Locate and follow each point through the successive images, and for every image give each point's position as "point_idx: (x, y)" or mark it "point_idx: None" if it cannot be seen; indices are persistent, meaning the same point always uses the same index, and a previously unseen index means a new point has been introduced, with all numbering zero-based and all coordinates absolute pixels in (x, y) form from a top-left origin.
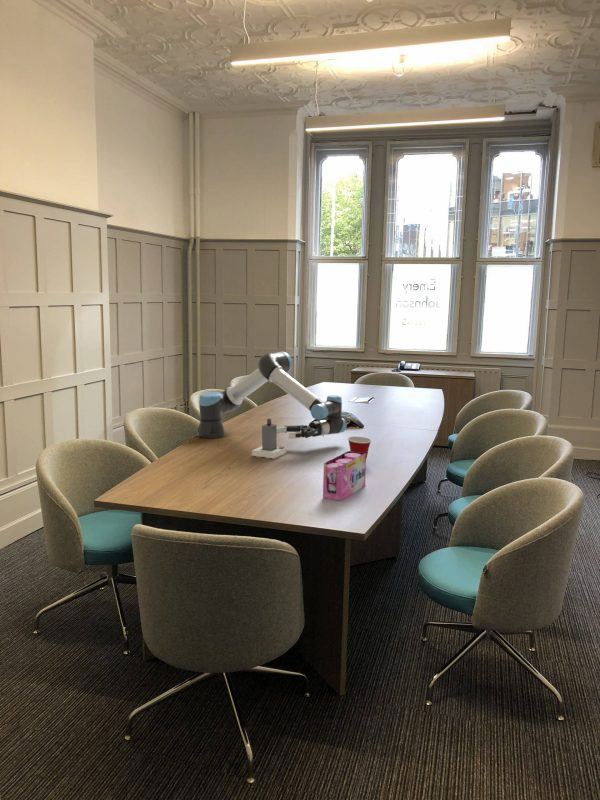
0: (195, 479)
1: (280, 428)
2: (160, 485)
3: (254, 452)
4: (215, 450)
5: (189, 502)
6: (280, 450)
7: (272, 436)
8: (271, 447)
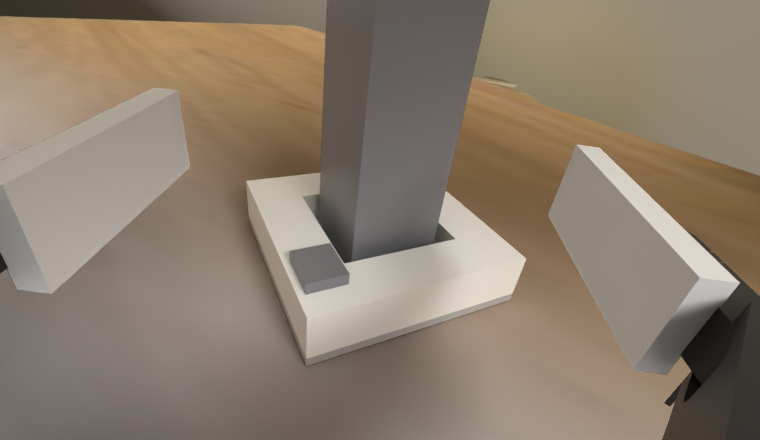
0: (277, 63)
1: (613, 201)
2: (299, 46)
3: None
4: None
5: (156, 29)
6: (271, 239)
7: (331, 96)
8: (320, 180)
